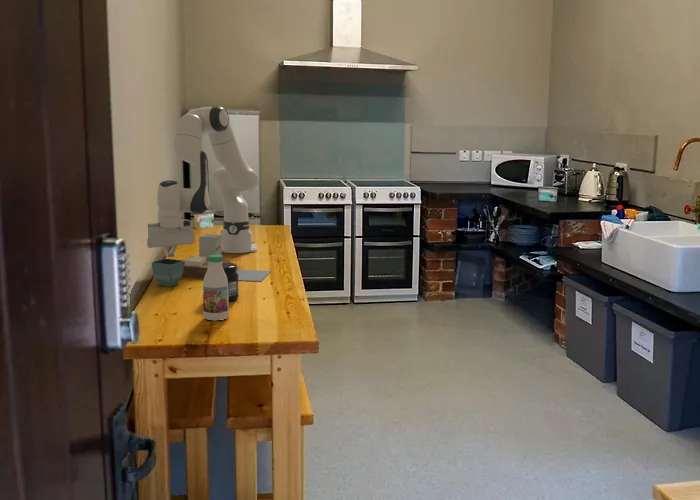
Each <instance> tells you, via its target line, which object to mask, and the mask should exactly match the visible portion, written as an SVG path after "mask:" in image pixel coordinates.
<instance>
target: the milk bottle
mask: <svg viewBox="0 0 700 500" xmlns="http://www.w3.org/2000/svg"><path fill="white" fill-rule="evenodd" d="M223 261H224V258H223V255H222V254H221V255H209V256H208V264H209V265H208V269H207V272H206V274H205V277H204V278H203V282H202V305H203V307H202V308H203V309H202V311H203V312H202V314H203V319H204V318H205V319H208V320H220V319H225V318H227V317H228V316H229V310H230V309H229V307H230V306H229V305H230V304H229V303H230V302H229V299H228V280H227V276H226V274H225V272H224V270H223V267H222V263H223ZM228 318H229V317H228ZM205 319H204V320H205Z"/></svg>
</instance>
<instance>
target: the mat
mask: <svg viewBox="0 0 700 500" xmlns="http://www.w3.org/2000/svg"><path fill="white" fill-rule="evenodd" d="M236 272H237V273H238V275H239V277H238V282H255V283H256V282H258V283H259V282H260V283H261V282H263V281H264V280H265V279H266V278H267V276H268V275H269V274H271V272H272V270H261V269H260V270H259V269H238V268H237V271H236Z"/></svg>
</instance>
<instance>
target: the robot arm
mask: <svg viewBox="0 0 700 500" xmlns="http://www.w3.org/2000/svg"><path fill="white" fill-rule="evenodd" d="M229 116H230V115H229V113H228V112H227V110H226V109H225V108H224V107H222V106H219V105H218V106H214V105H213V106H203V107H199V108H193V109H188V110H186V111H184V112H183V113H182V114H181V116H180V118H179V121H178V123H177V126H176V129H175V134H174V138H173V139H174V140H173V151H174V154H175V155H176V156H177V157H178V158H179V159H180V160H182V161H184V162H186V163H188V164H190V165H192V166H194V167H195V169H196V187H194V188H187V187H186V188H185V187H180V184H179V182H178V181H176V180H171V179H170V180H164V181H161V182H160V183H158V187H157V197H156V198H157V200H156V201H157V202H156V203H157V207H158V211H157V222H155V223H148V224H147V225H148V226H147V227H148V239H147V246H148V247H147V248H148V249H149V248H150V249H151V248H162V249H163V251H164V253H165V257H166V258H173V257H175V252H176V250H177V248H178V246H182V245H191V244H194V243H195V242H196V238H195V230H194V228H193V225H194V223H193V220H189V219H186V218H185V217H182V216H181V215H182V213H193V214H200V215H203V213H205V212H206V211H207V210H208V209H209V208H210V205H211V196H210V187H209V180H210V179H209V161H208V157H207V154H206V152H204V151H203V148H202V142H203V135H206V134H208V135H207V136H208V138H209V142H210V144H211V148H212V151H213V153H214V156H215V159H216V160H217V162H218V163H219V164H220V165H222V167H218V168H216V169H215V171H214V172H213V174H212V182H213V184H214V185H215V186H216V188H217V190H218V191H219V193H220V196H221V199H222V202H223V219H224V220H223V223H222V227H223V230H222V231H221V232H220V234H219V235H221V253H226V254H247V253H253V252H254V253H255V252H257V249H258V244H257V243H254V240H253V233H252V231H251V230H250V227H251V226H250V220H249V205H248V202H247V201H246V200H245V199H244V196H243V194H242V193H250V192H253V191H255V190H257V188H258V187H259V185H260V176H259V174H258V172H256V171H255V170H254V169H253V168H252V167H250V166H249V164H248V162H247V161H246V159H245V158H244V157H243V155H242V153H241V151H240V149H239V148H240V147H239V145H238V141H237V139H236V136H235V133H234V130H233V128H232V126H231V124H230V118H229ZM169 247H171V250H170V251H169Z"/></svg>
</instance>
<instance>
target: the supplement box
mask: <svg viewBox="0 0 700 500" xmlns="http://www.w3.org/2000/svg"><path fill="white" fill-rule="evenodd" d="M209 255H222V251H221V235H220V234H212V233H211V234H209V233H206V234H203V235H200V236H198V257H206V260H208V256H209Z"/></svg>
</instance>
